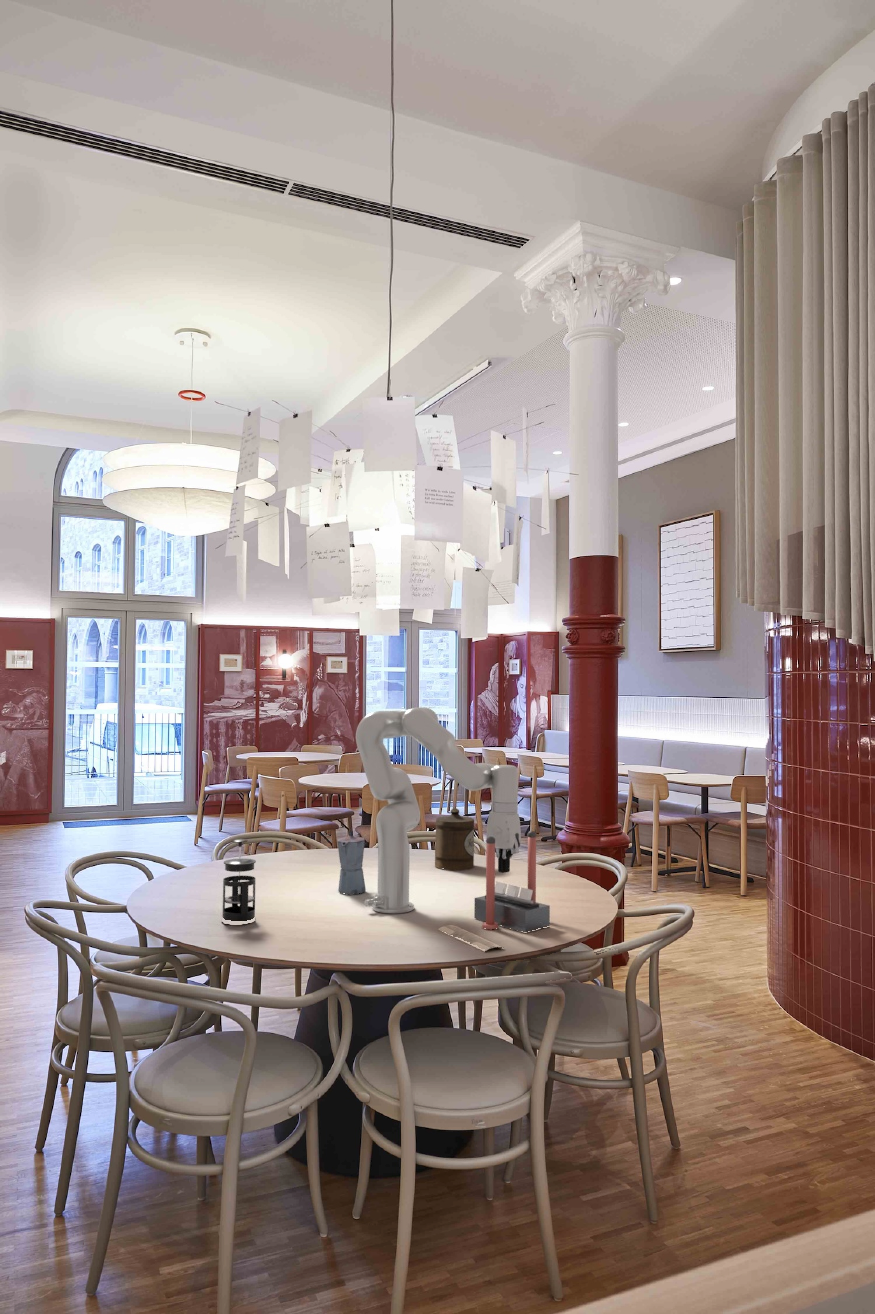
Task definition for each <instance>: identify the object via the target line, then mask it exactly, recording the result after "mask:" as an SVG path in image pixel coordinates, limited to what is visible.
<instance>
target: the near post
mask: <svg viewBox="0 0 875 1314" xmlns="http://www.w3.org/2000/svg"><path fill="white" fill-rule="evenodd" d="M485 839H486V838H485ZM485 842H486V843H485V844H486V859H485V861H486V864H485V865H486V866H485V867H486V869H485V871H486V873H485V879H486V881H485V882H486V883H485V889H486V890H485V895H486V922H484V921H482V923H481V924H482V926H481V927H483V928H486V929H490V930H489V931H493V930H492V929H496V928H498V929H499V926H498V923H496V922H495V885H496V881H495V880H496V853H495V838H494V837H492V836H490V837H488V838H487V839H486V840H485ZM483 928H482V929H483Z"/></svg>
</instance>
